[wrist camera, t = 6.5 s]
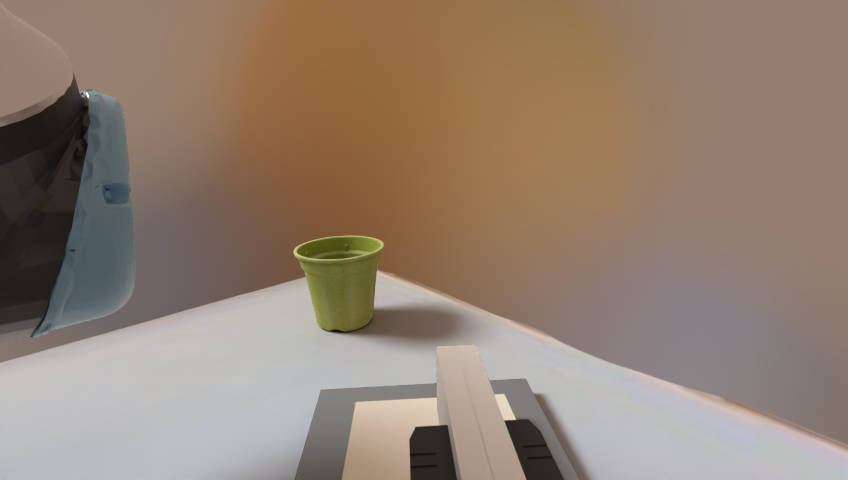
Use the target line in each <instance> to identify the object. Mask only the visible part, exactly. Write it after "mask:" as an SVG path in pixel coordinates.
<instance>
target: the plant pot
mask: <svg viewBox="0 0 848 480" xmlns="http://www.w3.org/2000/svg"><path fill="white" fill-rule="evenodd" d="M383 249H384V243H383V242H382V241H380V240H378V239H375V238H371V237H364V236H337V237H327V238H322V239H317V240H313V241H309V242H306V243H304V244H301V245H299V246H298V247H296V248H295V250H294V255H295V257H296V258H298V259H299V261H300V264H301V267H302V269H303V270H304V271H305V275H306V279H307V283H308V287H309V291H310V295H311V299H312V302H313V306H314V311H315V315H316V318H317V322H318V325H319V326H320V327H321V328H323V329H325V330H328V331H331V330H333V329H337V330H341V331H343V332H344V331H352V330H355V329H358V328H361V327H363V326H365V325H367V324H368V323H369V322H370V320H371V318H372V317H373V308H374V294H375V283H376V272H377V264H378V262H379V259H380V252H381V251H382V250H383Z"/></svg>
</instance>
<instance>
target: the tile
mask: <svg viewBox="0 0 848 480" xmlns="http://www.w3.org/2000/svg"><path fill="white" fill-rule="evenodd" d="M494 395H495V398H496V400H497V403H498V406H499V408H500V411H501V414H502V416H503V419H504V420H516V418H515V416H514V414H513V412H512V410H511V407H510V405H509V403H508V401H507V399H506V397H505V394H494ZM437 425H439V419H438V412H437V398H419V399H401V400H382V401H364V402H356V403H355V409H354V414H353V420H352V426H351V431H350V437H349V442H348V448H347V453H346V459H345V464H344V470H343V476H342V480H410V448H409V439H410V437H411V435H412V433H413V431H414V429H415V427H420V426H437Z"/></svg>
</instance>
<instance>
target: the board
mask: <svg viewBox="0 0 848 480" xmlns="http://www.w3.org/2000/svg"><path fill="white" fill-rule="evenodd" d="M489 382H490V384H491V387H492V390H493V392H494V394H505V397H506V399H507V401H508V403H509V405H510V407H511V410H512V412H513V414H514V416H515V418H516V420H520V419H529V420H530V421H531V422H532V423H533V424H534V425H535V426H536V427H537V428H538V429H539V430H540V431H541V433H542V435H543V437H544V439H545V441H546V443H547V447H549V449H550V452H551V454H552V456H553V459H554V460H555V462H556V464H557V466H558V468H559V470H560V472H561V474H562V476H563V478H564V480H580V479H579V478H578V476H577V474H576V472H575V470H574V468H573V466H572V464H571V463H570V461H569V459H568V457H567V455H566V453H565V451H564V450H563V448H562V446H561V444H560V442H559V440H558V438H557V436H556V435H555V433H554V431H553V429H552V427H551V425H550V423H549V421H548V420H547V418H546V416H545V414H544V412H543V410H542V408H541V407H540V405H539V403H538V401H537V399H536V397H535V395H534V393H533V392H532V390H531V388H530V386H529V384H528V382H527V380H526V379H508V380H490V381H489ZM419 398H437V383H435V384H417V385H399V386H380V387H362V388H344V389H325V390H321V391H320V395H319V398H318V402H317V405H316V408H315V412H314V415H313V419H312V422H311V425H310V429H309V432H308V436H307V439H306V442H305V446H304V449H303V453H302V456H301V459H300V463H299V466H298V470H297V473H296V476H295V480H342V476H343V470H344V464H345V459H346V453H347V448H348V442H349V437H350V431H351V426H352V420H353V414H354V409H355V403H356V402H364V401H382V400H401V399H419Z"/></svg>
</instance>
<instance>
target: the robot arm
mask: <svg viewBox="0 0 848 480" xmlns="http://www.w3.org/2000/svg"><path fill="white" fill-rule="evenodd" d="M130 191H131V189H130V179H129V157H128V146H127V136H126V128H125V119H124V114H123V109H122V106H121V104H120V103H119V101H118V100H117V99H115V98H113V97H111V96H108V95H102V94H99V93H98V92H97V91H92V90H91V89H87V90H84V91H83V92H79V90H78V86H77V83H76V79H75V76H74V73H73V69H72V66H71V63H70V60H69V59H68V57H67V55H66V53H65V52H64V51H63V49H62V48H61V47H60V46H59V45H58V44H57V43H55V42H54V41H53V40H51V39H50V38H49V37H47V36H46V35H44V34H43V33H41V32H40V31H38V30H36V29H35V28H33V27H32V26H30V25H29V24H27V23H26V22H24V21H23V20H21V19H20V18H18V17H16V16H15V15H14V14H12V13H10V12H9V11H8V10H6V9H5V7H4V6H3V4H2V3H1V2H0V343H1V342H6V341H11V340H16V339H21V338H26V337H33V338H34V337H39V336H43V335H45V334H47V333H48V332H50V331H51V330H54V329H57V328H61V327H65V326H69V325H73V324H77V323H81V322H85V321H89V320H92V319H96V318H100V317H104V316H107V315H109V314H111V313H113V312H115V311H117V310H118V309H120V308H121V307H122V306H124V304H125V303H126V302H127V301H128V300H129V298H130V297H131V295H132V293H133V289H134V285H135V247H134V230H133V229H134V228H133V216H132V203H131V198H130ZM437 412H438V419H439V425H437V426H420V427H415V429H414V431H413V433H412V435H411V437H410V439H409V448H410V480H564V478H563V476H562V474H561V472H560V470H559V468H558V466H557V464H556V462H555V460H554V459H553V456H552V454H551V452H550V449H549V447H547V443H546V441H545V439H544V437H543V435H542V433H541V431H540V430H539V429H538V428H537V427H536V426H535V425H534V424H533V423H532V422H531V421H530V420H529V419H520V420H504V419H503V416H502V414H501V411H500V408H499V406H498V403H497V400H496V398H495V395H494V392H493V390H492V387H491V384H490V382H489V379H488V376H487V374H486V371H485V368H484V366H483V363H482V360H481V358H480V355H479V352H478V350H477V347H476V345H456V346H437Z"/></svg>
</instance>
